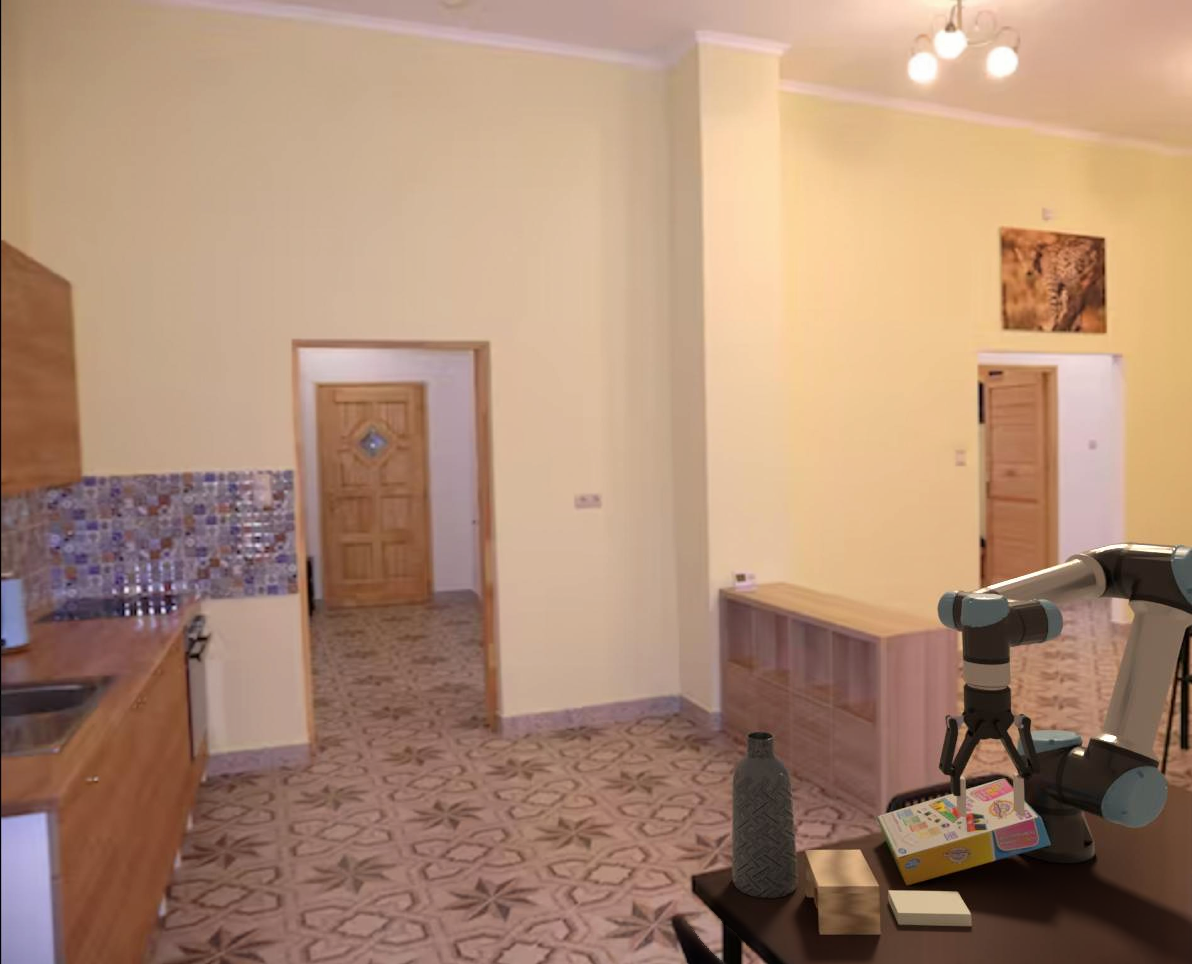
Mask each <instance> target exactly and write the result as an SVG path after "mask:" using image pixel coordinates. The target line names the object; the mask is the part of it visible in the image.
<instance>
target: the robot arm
mask: <svg viewBox="0 0 1192 964" xmlns="http://www.w3.org/2000/svg"><path fill="white" fill-rule="evenodd" d="M1099 598H1113V599H1114V598H1115V599H1120V600H1121V599H1123V600H1128V606H1129V608H1130V610H1132V612H1133V615H1134V616H1133V619H1132V621H1131V626H1130V629H1129V633H1128V637H1127V640H1126V644H1125V647H1124V650H1123V654H1122V658H1121V660H1120V661H1121V662H1120V665H1119V668H1118V672H1117V675H1116V679H1115V683H1114V686H1113V689H1112V692H1111V697H1110V701H1109V703H1108V704H1109V705H1108V708H1107V711H1106V715H1105V717H1104V721H1103V725H1102V728H1101V731H1100V732H1099V733H1096V734H1094V735H1092V736H1090V738H1089V741H1088V744H1087V747H1086V746H1083V743H1084V741H1083V739H1082V736H1081V735H1080V734H1079V733H1076V732H1073V731H1068V730H1059V729H1056V730H1055V729H1047V730H1046V729H1043V730H1033V731H1031V728H1032V720H1031V718H1029V717H1028V716H1027V715H1025V714H1024V713H1020V714H1013V712H1012V689H1011V688H1010V686H1009V685H1011V684H1012V682H1011V681H1012V679H1011V662H1010V661H1011V648H1013V647H1020V646H1027V645H1035V644H1036V645H1037V644H1044V643H1045V642H1049V641H1050V642H1051V641H1052V640H1053V641H1054V640H1055V639H1057V638H1058V637H1059V636H1061V635H1060V634H1061V633H1062V631H1063V628H1064V619H1063V615H1062V612H1061V610H1060V608H1059V606H1060V605H1065V604H1067V603H1070V602H1074V601H1076V600H1080V599H1081V600H1084V601H1095V600H1097V599H1099ZM937 615H938V619H939V621H940V622H941V624H942V625H943V626H945V627H947V628H949V629H952V630H956V631H957V632H961V642H962V666H963V667H962V672H963V674H962V675H963V676H962V678H963V682H965V684H964V685H963V706H964V707H963V708H964V709H963V712H962V714H961V715H955V716H952V715H950V714H948V715H946V716H945V718H944V719H945V726H946V730H945V734H944V735H945V736H944V740H943V744H942V749H941V754H940V758H939V763H938V768H939V770H940V771H941V773H942V774H944V775H945V776H949V777H950V778H949V779H950V791H951V794H953V795H954V796H957V811H958V813H959V814H960V815H961V816H962V817H967V811H966V789H967V783H966V781H967V779H965V777H964V776H963V773H964V771H965V769H966V767H967V765H968V763H969V761H970V759H971V757H972V755H973V752H974V751H975V749H976V746H978V745H979V743H980V741H981V740H982V741H984V740H990V739H992V740H994V741H995V740H996V741H997V740H999V741H1000V742H1001V744H1002V745H1003V747H1004V749H1005V751H1006V753H1007V755H1008V756H1009V758H1010V760H1011V762H1012V763H1013V765H1014V767H1015V769H1016V771H1017V773H1016V772H1013V773H1012V783H1013V784H1012V787H1013V793H1014V811H1015V812H1016V813H1017V814H1018V815H1019V816H1025V806H1024V801H1025V802H1026V803H1027V804H1028V805H1029V806H1030V807H1031V808H1032V809H1033V810H1034V811H1035V812H1036V813H1037V814H1038V815H1039V816H1040V817H1041V819H1042V821H1043V823H1044V826H1045V829H1046V832H1047V835H1048V838H1049V841H1050V843H1051V845H1049V846H1046V847H1042V848H1039V849H1035V850H1031V851H1028V852H1024V853H1022V854H1023V855H1025V856H1028V857H1030V858H1033V859H1037V860H1041V861H1045V862H1050V863H1057V864H1058V863H1059V864H1077V863H1079V864H1080V863H1085V862H1087V861H1090V860H1092V859H1093V858H1094V856H1095V853H1096V852H1095V851H1096V849H1095V840H1094V838H1093V836H1092V832H1091V830H1090V827H1089V825H1088V822H1087V819H1086V816H1085V813H1084V812H1086V813H1088V814H1091V815H1094V816H1096V817H1098V818H1102V819H1104V820H1106V821H1108V822H1110V823H1112V824H1116V825H1117V824H1119V825H1121V826H1124V827H1127V828H1132V829H1134V828H1136V829H1137V828H1142V827H1145V826H1147V825H1148V824H1149V823H1151V822H1153V821H1155V820H1156V819H1157V817H1158V816H1159V815H1160V813H1162V810H1163V809H1164V808H1165V807H1164V806H1165V804H1166V802H1167V797H1168V793H1169V792H1168V791H1169V788H1168V786H1167V784H1168V780H1167V779H1166V776H1165V774H1164V773H1163V772H1162V771H1161V770H1159V766H1160V759H1159V757H1158V755H1157V754H1156V753H1155V750H1154V747H1155V743H1156V738H1157V735H1158V732H1159V728H1160V724H1161V721H1162V718H1163V715H1164V714H1163V713H1164V710H1165V705H1166V703H1167V698H1168V695H1169V692H1170V689H1171V684H1172V680H1173V676H1174V673H1175V669H1176V666H1177V663H1178V662H1177V661H1178V657H1179V655H1180V651H1181V648H1182V643H1183V640H1184V637H1185V632H1186V629H1187V628H1188V627H1190V626H1192V546H1186V545H1183V544H1177V545H1169V544H1158V543H1157V544H1156V543H1154V544H1153V543H1143V542H1142V543H1138V542H1130V541H1129V542H1120V543H1118V542H1117V543H1113V544H1108V545H1105V546H1100V547H1096V548H1093V549H1089V550H1087V551H1082V552H1079V553H1076V554H1073V555H1071V556H1069V557H1068V558H1067V559H1066V560H1065V562H1064V563H1061V564H1058V565H1054V566H1050V567H1048V568H1044V569H1040V570H1039V571H1033V572H1032V573H1028V574H1025V575H1022V576H1021V575H1020V576H1018V577H1015V578H1011V579H1009V580H1005V581H1002V582H999V583H996V584H992V585H989V586H986V587H982V588H978V589H975V590H972V591H964V590H960V589H959V590H949V591H946V592H945V593H944V594H943V595H942V596H941V597H940V599H939V601H938V604H937ZM1013 723H1014V725H1015V727H1017V732H1018V736H1019V737H1018V739H1017V747H1016V745H1015V744H1014V742H1013V739H1012V737H1011V735H1010V733H1009V732H1008V730H1009V728H1010V727H1012V725H1013ZM963 724H965V725H966V726H965V727H967V730H966V731H965V734H964V739H963V741H962V743H961V745H960V747H959V749H958V752H957V754H956V755H955V752H956V751H955V750H956V747H957V741H958V738H959V730H961V728H962V725H963ZM954 757H955V758H954Z"/></svg>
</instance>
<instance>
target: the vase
mask: <svg viewBox="0 0 1192 964" xmlns="http://www.w3.org/2000/svg"><path fill="white" fill-rule="evenodd" d="M731 786H732V787H731V788H732V792H731V796H732V797H731V799H732V800H731V801H732V802H731V803H732V807H731V809H732V811H731V813H732V817H731V819H732V820H731V821H732V823H731V825H732V826H731V827H732V831H731V832H732V833H731V838H732V839H731V841H732V842H731V843H732V844H731V853H732V854H731V859H732V860H731V863H732V865H731V869H732V870H731V874H732V882H733V885H734V886H735V888H736V889H737V890H739V892H742V893H743V894H746V895H749V896H751V897H755V898H764V899H773V898H774V899H775V898H780V897H786V896H787V895H790V894H792V893H793V892H794V891H796V889H797V886H798V882H799V879H798V878H799V875H798V873H799V872H798V863H797V862H798V861H797V860H798V859H797V845H796V833H795V831H796V830H795V818H794V816H795V815H794V805H793V804H794V801H793V790H792V789H793V788H792V787H793V786H792V780H791V775H790V772H789V769H788V767H787V766H786V764H785V763H784V761H782V759H781V758H779V757H778V756H777V755H776V754H775V736H774V734H772V733H769V732H766V731H765V732H764V731H754V732H749V733H748V734H746V754H745V755H744V756H742V758H741V759H739V760H738V762H737V764H736V765H735V768H734V771H733V776H732V785H731Z"/></svg>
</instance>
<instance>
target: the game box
mask: <svg viewBox="0 0 1192 964" xmlns="http://www.w3.org/2000/svg"><path fill="white" fill-rule="evenodd" d="M1024 806H1025V816H1019V815H1018V814H1017V813H1016V812H1015V811H1014V793H1013V785H1011V784H1010V782H1008V780H1007V778H1005V777H1004V778H1001V779H997V780H993V781H991V782H990V781H989V782H987V783H984V784H981V785H977V786H974V787H970V788H966V811H967V817H962V816H961V815H960V814H959V813H958V811H957V796H954V795H953V794H952V793H951V794H947V795H943V796H940V797H936V798H934V799H930V800H926V801H924V802H920V803H917V804H913V805H910V806H907V807H904V808H899V809H896V810H894V811H890V812H887V813H883V814H882V813H881V814H880V815H877V816H876V817H877V821H878V824H879V826H880V830H881V832H882V834H883V838H884V840H885V842H886V844H887V847H888V849H889V850H890V853H891V855H892V858H893V860H894V862H895V864H896V867H897V868H898V871H899V873H900V875H901V877H902V879H903V882H904V884H905V885H906V886H907V887H908V886H911V885H913V884H918V883H921V882H922V883H923V882H925V881H927V880H928V881H929V880H932V879H935V878H939V877H943V876H946V875H949V874H953V873H956V872H960V871H964V870H968V869H971V868H974V867H978V866H982V865H985V864H988V863H992V862H996V861H998V860H1003V859H1006V858H1010V857H1014V856H1016V855H1017V856H1018V855H1019V854H1023V853H1024V852H1028V851H1031V850H1035V849H1039V848H1042V847H1046V846H1049V845H1051V843H1050V841H1049V838H1048V835H1047V832H1046V829H1045V826H1044V823H1043V821H1042V819H1041V817H1040V816H1039V815H1038V814H1037V813H1036V812H1035V811H1034V810H1033V809H1032V808H1031V807H1030V806H1029V805H1028V804H1027V803H1026V802H1025V801H1024Z"/></svg>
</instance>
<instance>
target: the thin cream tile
mask: <svg viewBox="0 0 1192 964" xmlns="http://www.w3.org/2000/svg"><path fill="white" fill-rule="evenodd" d="M887 892H888V893H887V894H888V899H887V900H888V903H889V906H890V909H891V910H892V912H893V913H892V914H893V915H894V917H895V920H896V922H897V924H898V925H899V926H900V925H901V926H938V927H939V926H944V927H946V926H947V927H951V926H952V927H972V925H973V924H972V923H973V922H972V913H971V911H970V910H969V908H968V907H967V905H966V903H965V902H964V899H962V897H961V895H960V893H959V892H958V891H950V890H949V891H948V890H947V891H945V890H943V891H942V890H890V889H888V891H887Z"/></svg>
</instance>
